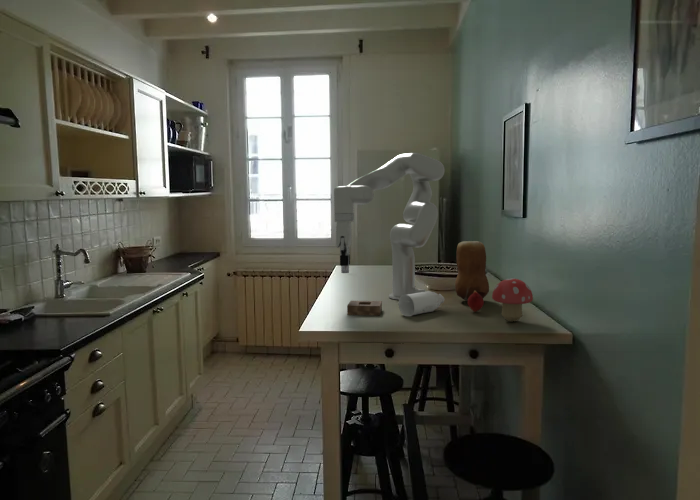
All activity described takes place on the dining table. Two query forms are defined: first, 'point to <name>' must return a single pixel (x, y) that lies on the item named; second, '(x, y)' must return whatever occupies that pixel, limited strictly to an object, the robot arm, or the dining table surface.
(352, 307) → the hole block
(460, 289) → the butternut squash
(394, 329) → the dining table surface
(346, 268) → the peg
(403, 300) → the white plastic bottle
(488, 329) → the dining table surface
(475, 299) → the onion
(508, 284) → the decorative mushroom
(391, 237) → the robot arm
